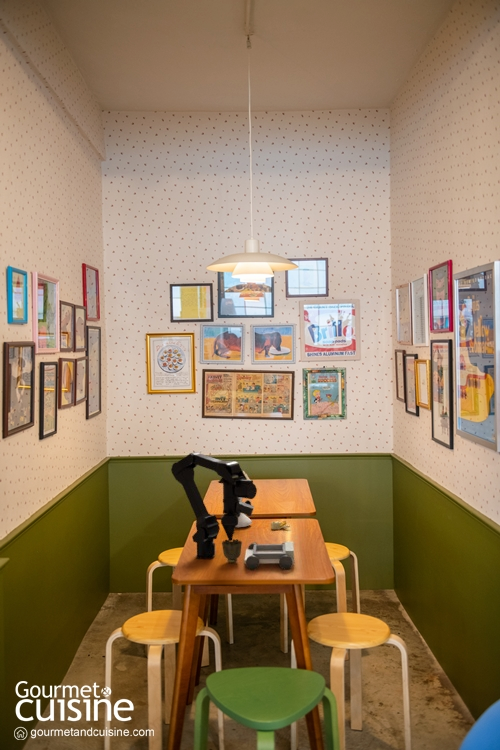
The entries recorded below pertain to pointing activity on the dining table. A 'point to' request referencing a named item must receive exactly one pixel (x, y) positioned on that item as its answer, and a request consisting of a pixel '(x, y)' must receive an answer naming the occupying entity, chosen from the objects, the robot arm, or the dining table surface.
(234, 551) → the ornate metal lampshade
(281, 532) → the dining table surface
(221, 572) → the dining table surface
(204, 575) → the dining table surface
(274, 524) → the character toy
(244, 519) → the flower in vase
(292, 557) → the car chassis
